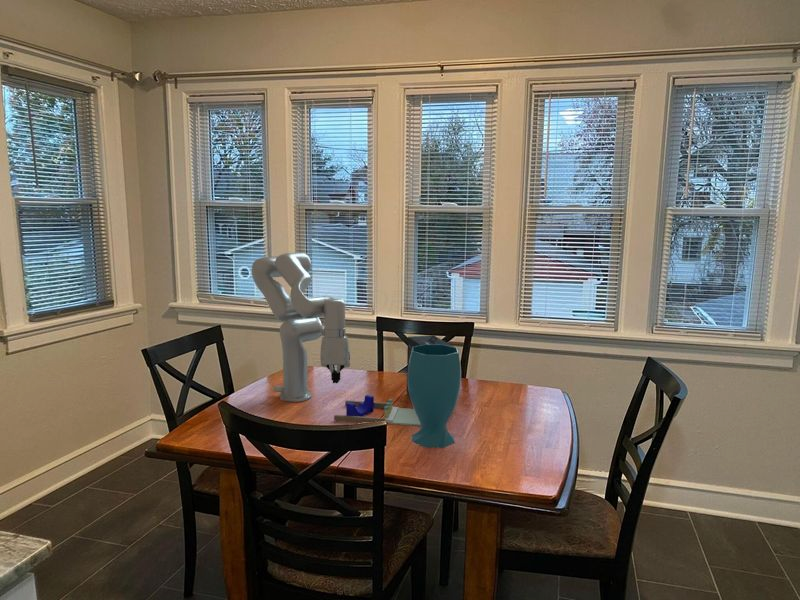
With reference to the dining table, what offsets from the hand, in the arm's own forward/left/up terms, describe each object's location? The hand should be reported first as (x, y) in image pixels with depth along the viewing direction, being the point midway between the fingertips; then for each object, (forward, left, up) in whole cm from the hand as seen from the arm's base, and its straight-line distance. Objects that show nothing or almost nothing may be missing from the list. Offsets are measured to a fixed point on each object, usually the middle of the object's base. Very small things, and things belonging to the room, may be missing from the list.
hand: (336, 382), depth 202 cm
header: (+18, 0, -12) cm, 21 cm away
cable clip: (+9, 0, -12) cm, 15 cm away
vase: (+37, -18, -12) cm, 43 cm away
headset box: (+32, +20, -12) cm, 40 cm away
